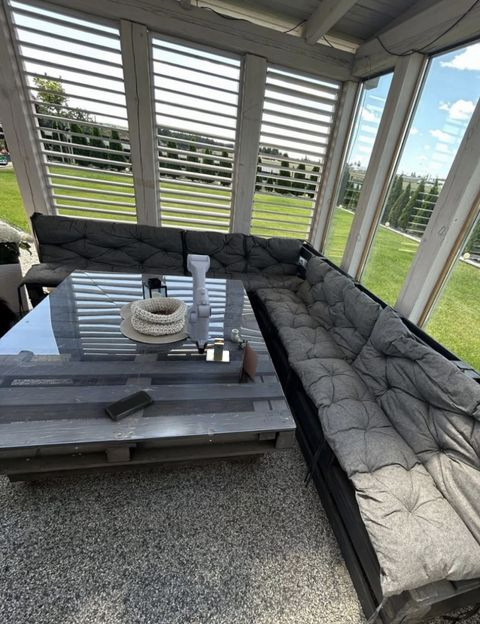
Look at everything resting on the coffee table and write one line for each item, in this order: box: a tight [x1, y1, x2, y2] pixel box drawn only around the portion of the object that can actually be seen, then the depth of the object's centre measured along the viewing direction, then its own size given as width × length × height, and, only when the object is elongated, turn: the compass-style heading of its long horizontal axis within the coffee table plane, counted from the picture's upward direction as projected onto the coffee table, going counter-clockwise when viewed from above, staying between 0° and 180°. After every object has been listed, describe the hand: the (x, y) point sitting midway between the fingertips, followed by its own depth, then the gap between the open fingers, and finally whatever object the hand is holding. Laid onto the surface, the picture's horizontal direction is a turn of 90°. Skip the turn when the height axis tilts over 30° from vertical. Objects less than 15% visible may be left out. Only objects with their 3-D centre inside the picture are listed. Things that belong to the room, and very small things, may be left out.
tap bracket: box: [206, 337, 230, 363], centre depth 142 cm, size 11×9×10 cm
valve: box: [230, 328, 250, 351], centre depth 155 cm, size 7×7×12 cm
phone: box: [104, 390, 153, 421], centre depth 110 cm, size 8×1×15 cm
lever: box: [205, 341, 222, 351], centre depth 141 cm, size 12×3×3 cm, turn 97°
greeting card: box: [239, 342, 260, 381], centre depth 132 cm, size 11×7×15 cm, turn 178°
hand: (201, 351), depth 142 cm, fingers closed on lever, 3 cm apart
